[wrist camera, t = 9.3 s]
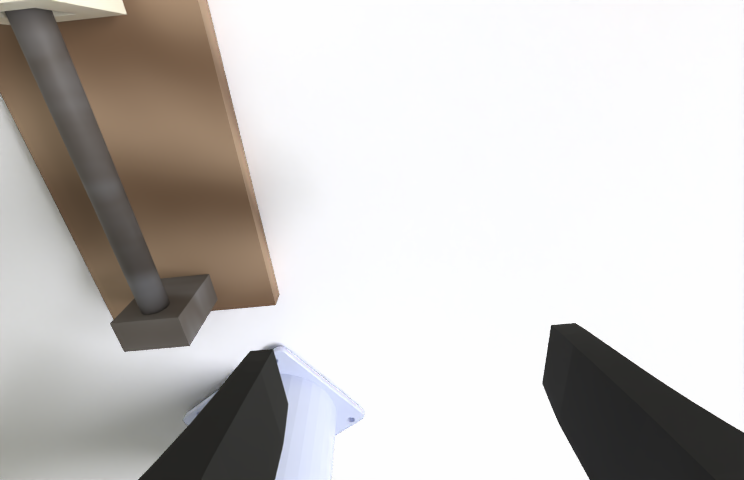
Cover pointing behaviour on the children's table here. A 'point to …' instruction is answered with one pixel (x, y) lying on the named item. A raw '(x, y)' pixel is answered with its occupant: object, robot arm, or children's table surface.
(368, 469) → the children's table surface
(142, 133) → the rod board
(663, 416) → the robot arm
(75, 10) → the sleeve
